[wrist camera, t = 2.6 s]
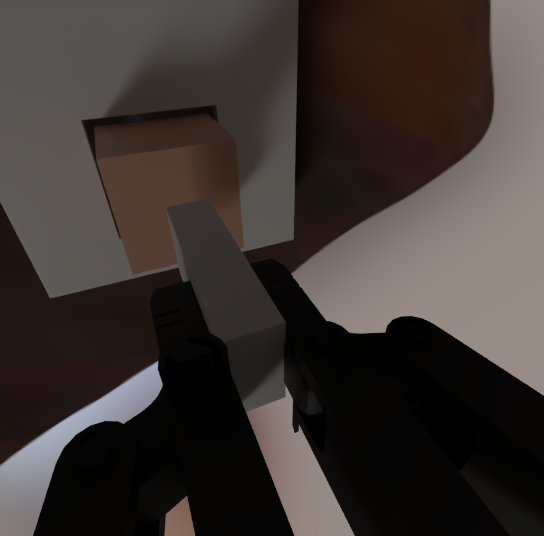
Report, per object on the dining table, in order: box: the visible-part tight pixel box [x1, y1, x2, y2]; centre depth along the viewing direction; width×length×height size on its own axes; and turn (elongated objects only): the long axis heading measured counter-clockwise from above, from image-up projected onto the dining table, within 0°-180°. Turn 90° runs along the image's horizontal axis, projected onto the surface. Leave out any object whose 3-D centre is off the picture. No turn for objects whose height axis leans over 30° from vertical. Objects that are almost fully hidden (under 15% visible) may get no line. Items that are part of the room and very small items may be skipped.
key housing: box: [0, 0, 299, 298], centre depth 16 cm, size 22×14×4 cm, turn 1°
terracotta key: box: [94, 113, 244, 275], centre depth 16 cm, size 5×5×4 cm
